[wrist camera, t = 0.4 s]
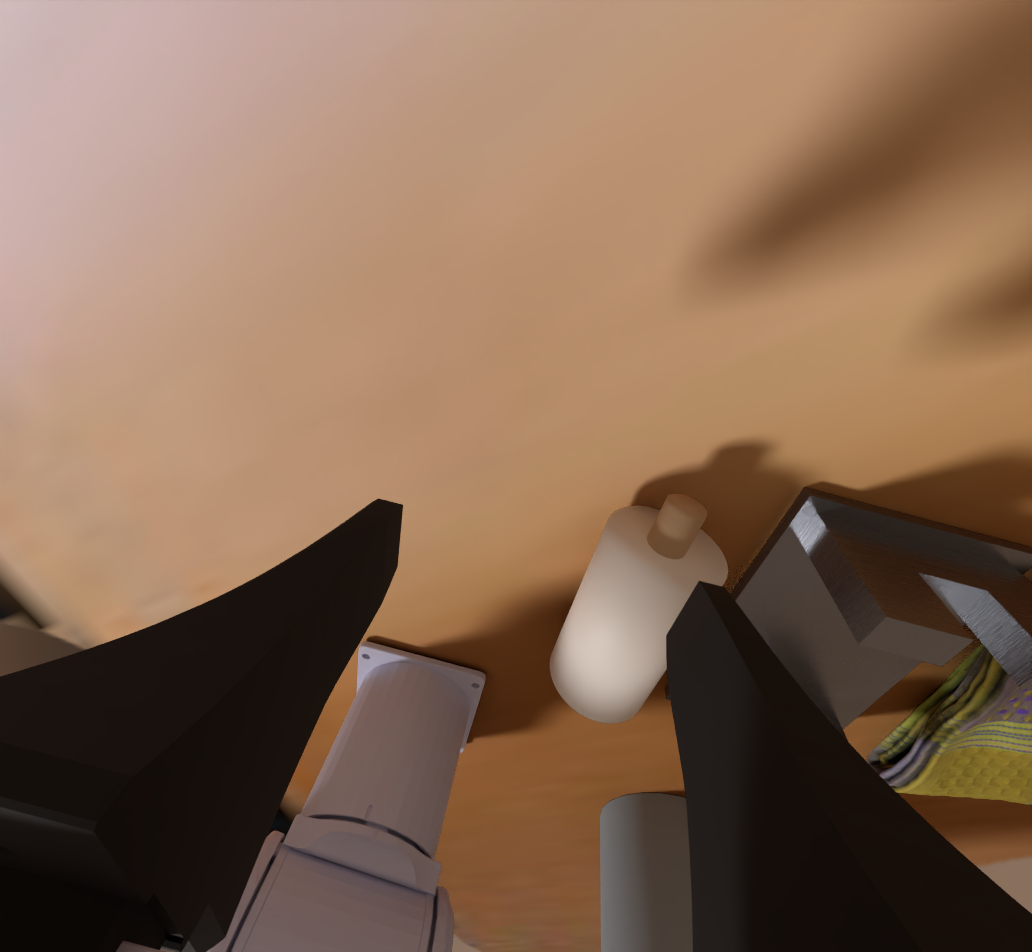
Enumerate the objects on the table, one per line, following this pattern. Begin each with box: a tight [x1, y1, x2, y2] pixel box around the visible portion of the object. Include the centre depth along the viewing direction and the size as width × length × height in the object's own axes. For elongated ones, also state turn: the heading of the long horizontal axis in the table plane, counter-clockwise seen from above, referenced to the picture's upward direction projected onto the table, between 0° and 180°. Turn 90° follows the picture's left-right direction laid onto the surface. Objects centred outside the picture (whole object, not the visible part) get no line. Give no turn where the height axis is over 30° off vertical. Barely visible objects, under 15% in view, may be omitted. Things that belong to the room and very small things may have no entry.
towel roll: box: [550, 493, 728, 723], centre depth 21 cm, size 13×5×5 cm, turn 168°
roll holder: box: [665, 487, 1032, 741], centre depth 21 cm, size 15×10×6 cm, turn 168°
